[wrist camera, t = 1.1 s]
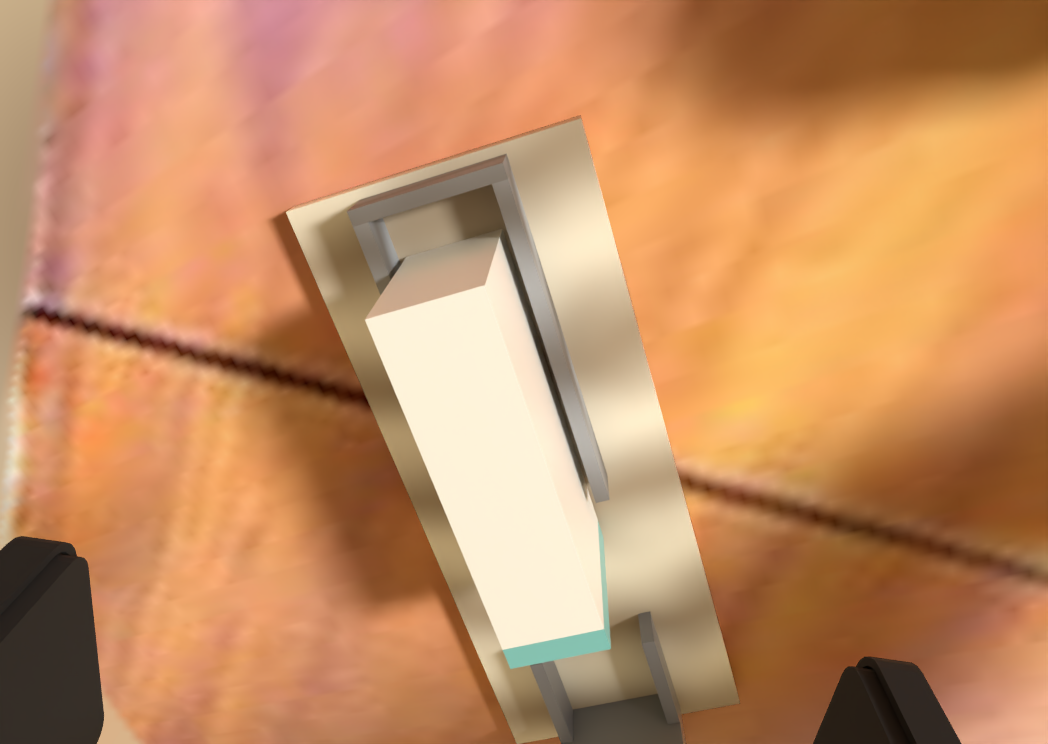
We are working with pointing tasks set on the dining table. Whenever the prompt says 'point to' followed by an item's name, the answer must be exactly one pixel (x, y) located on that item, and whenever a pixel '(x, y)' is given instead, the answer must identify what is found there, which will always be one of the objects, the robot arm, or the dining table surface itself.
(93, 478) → the dining table surface
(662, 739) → the socket
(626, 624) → the base
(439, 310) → the white teal block
